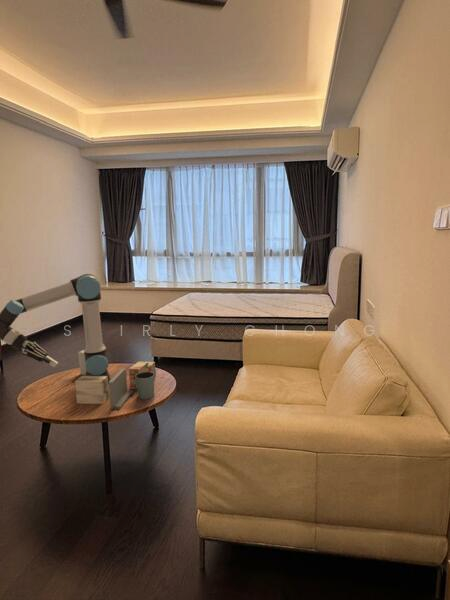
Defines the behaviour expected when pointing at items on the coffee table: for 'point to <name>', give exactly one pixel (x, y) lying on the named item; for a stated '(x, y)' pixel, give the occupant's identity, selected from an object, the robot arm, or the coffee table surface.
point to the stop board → (119, 390)
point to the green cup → (145, 384)
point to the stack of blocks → (140, 368)
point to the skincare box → (82, 362)
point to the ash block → (92, 389)
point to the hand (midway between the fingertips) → (56, 364)
